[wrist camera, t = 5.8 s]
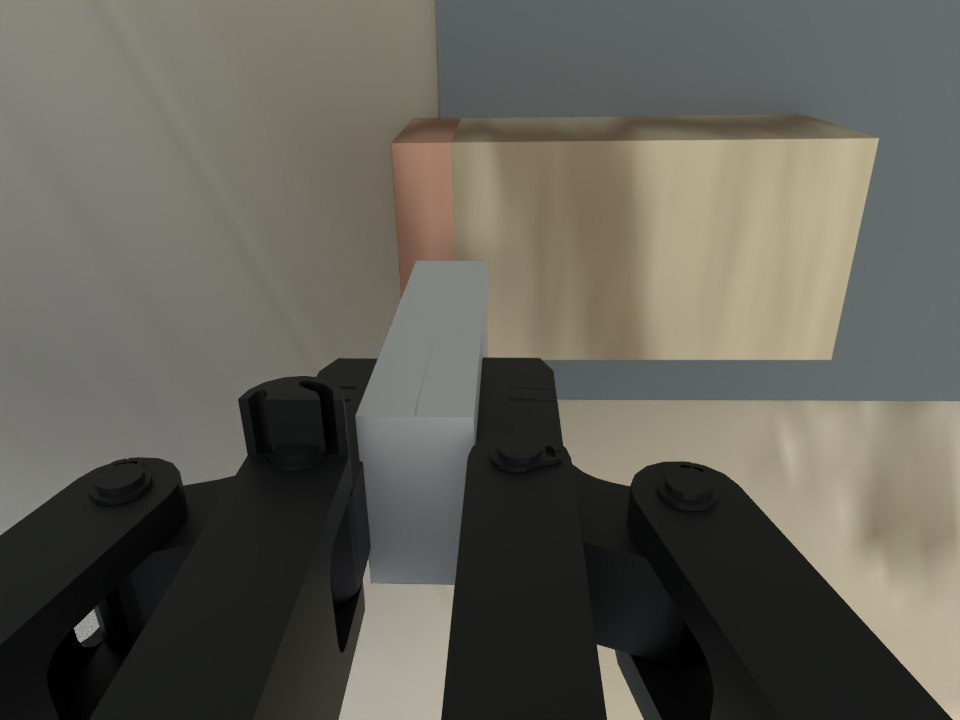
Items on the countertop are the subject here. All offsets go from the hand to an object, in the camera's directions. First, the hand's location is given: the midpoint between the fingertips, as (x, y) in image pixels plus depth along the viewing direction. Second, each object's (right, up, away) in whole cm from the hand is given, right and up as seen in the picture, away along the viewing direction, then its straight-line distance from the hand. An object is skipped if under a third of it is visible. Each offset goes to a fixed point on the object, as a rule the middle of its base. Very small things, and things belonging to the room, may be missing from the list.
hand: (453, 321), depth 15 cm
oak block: (-2, +3, +6) cm, 7 cm away
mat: (+9, +4, +8) cm, 13 cm away
